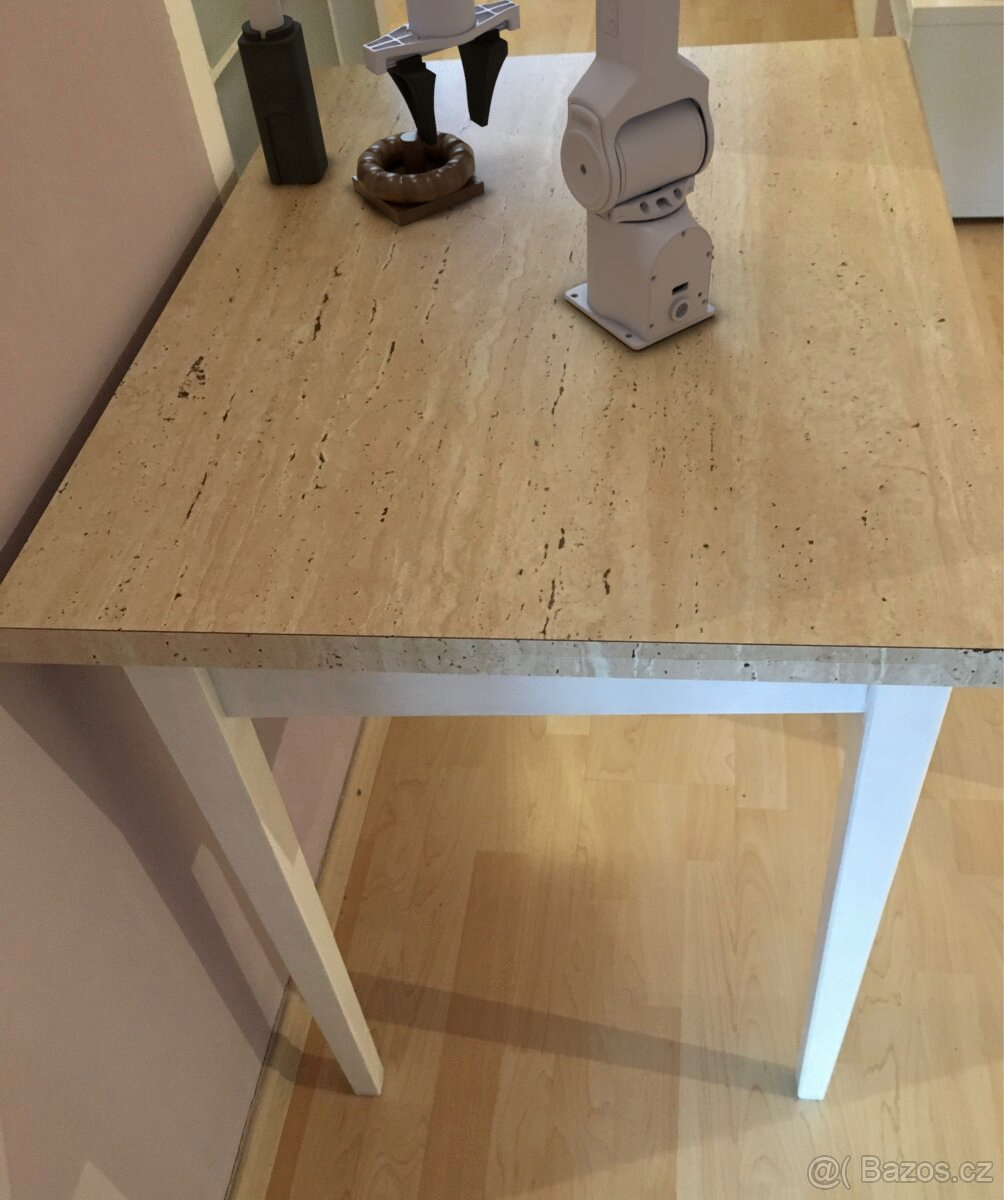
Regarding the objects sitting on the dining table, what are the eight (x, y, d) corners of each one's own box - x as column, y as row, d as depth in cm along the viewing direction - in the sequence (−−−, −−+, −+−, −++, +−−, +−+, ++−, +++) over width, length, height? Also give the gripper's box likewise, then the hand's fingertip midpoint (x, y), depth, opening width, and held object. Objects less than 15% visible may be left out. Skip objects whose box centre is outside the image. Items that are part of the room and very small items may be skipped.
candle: (330, 158, 104) (272, -144, 85) (319, 184, 100) (256, -125, 82) (280, 159, 104) (211, -141, 85) (267, 185, 101) (193, -122, 82)
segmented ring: (498, 181, 96) (496, 156, 94) (395, 221, 92) (391, 195, 91) (437, 140, 102) (434, 115, 100) (339, 175, 99) (334, 150, 97)
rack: (484, 194, 97) (480, 138, 93) (400, 226, 94) (392, 170, 90) (434, 158, 102) (428, 104, 98) (353, 188, 99) (343, 134, 95)
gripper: (484, -67, 91) (495, 94, 101) (335, -23, 86) (363, 141, 96) (530, -47, 87) (537, 119, 97) (377, 0, 82) (401, 169, 92)
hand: (453, 132), depth 96 cm, fingers open, 5 cm apart
